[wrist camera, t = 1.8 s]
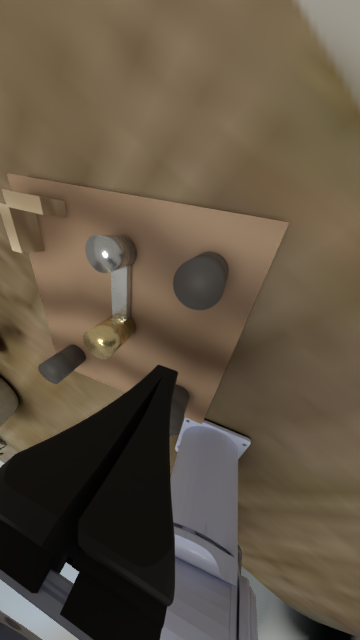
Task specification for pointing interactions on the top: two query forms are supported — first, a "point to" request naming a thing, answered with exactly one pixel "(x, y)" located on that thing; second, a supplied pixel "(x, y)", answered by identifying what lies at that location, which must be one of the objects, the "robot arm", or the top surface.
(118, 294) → the metal crank handle
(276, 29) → the top surface
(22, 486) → the robot arm
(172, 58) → the top surface
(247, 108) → the top surface
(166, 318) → the wooden board with pegs
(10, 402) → the canister
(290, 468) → the top surface
